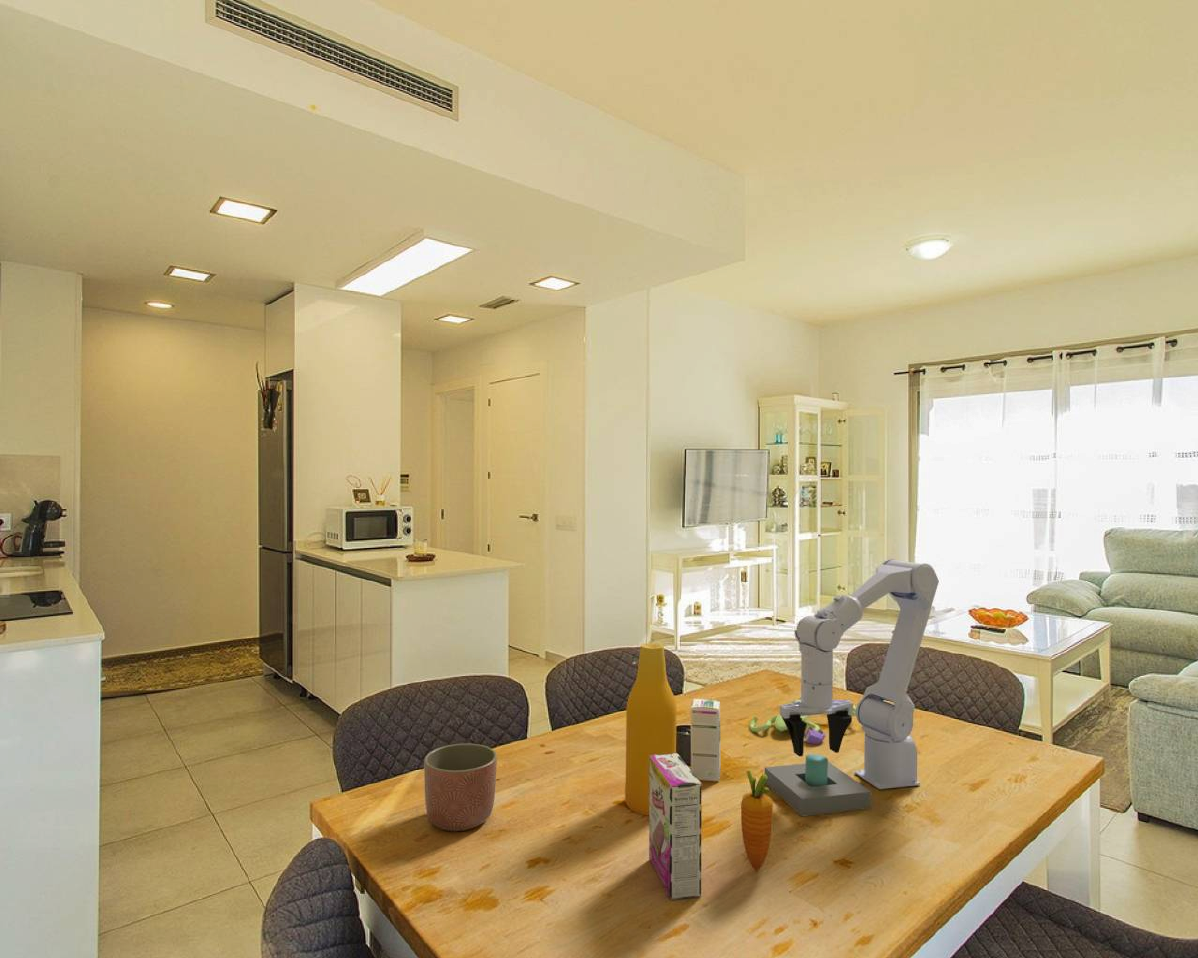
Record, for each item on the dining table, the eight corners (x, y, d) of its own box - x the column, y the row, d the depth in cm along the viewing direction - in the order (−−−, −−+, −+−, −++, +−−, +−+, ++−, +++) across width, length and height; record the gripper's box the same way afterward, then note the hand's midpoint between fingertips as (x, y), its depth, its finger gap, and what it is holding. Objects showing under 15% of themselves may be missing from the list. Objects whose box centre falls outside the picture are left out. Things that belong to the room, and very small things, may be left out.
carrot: (735, 862, 107) (736, 765, 107) (766, 861, 107) (767, 764, 107) (745, 880, 102) (746, 778, 102) (777, 879, 102) (778, 778, 102)
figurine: (869, 726, 169) (869, 704, 169) (809, 753, 152) (809, 728, 152) (803, 707, 183) (803, 686, 183) (741, 730, 166) (741, 706, 166)
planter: (433, 844, 111) (434, 776, 111) (415, 811, 122) (416, 750, 122) (506, 827, 117) (506, 763, 117) (483, 797, 128) (484, 738, 128)
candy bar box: (646, 859, 107) (647, 754, 107) (677, 856, 108) (678, 751, 108) (668, 902, 96) (670, 784, 96) (702, 898, 97) (703, 781, 98)
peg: (818, 789, 133) (819, 753, 133) (831, 798, 129) (832, 761, 129) (800, 791, 132) (801, 755, 132) (813, 801, 128) (813, 763, 128)
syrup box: (719, 782, 136) (720, 708, 136) (689, 779, 137) (690, 706, 137) (720, 770, 141) (721, 699, 141) (691, 767, 142) (692, 697, 142)
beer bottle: (618, 811, 123) (620, 648, 123) (633, 790, 132) (635, 638, 132) (668, 820, 120) (670, 653, 120) (680, 798, 128) (682, 642, 129)
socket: (827, 776, 139) (827, 761, 139) (871, 807, 125) (871, 791, 125) (764, 782, 136) (764, 767, 136) (802, 816, 122) (802, 799, 122)
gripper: (793, 689, 125) (792, 764, 125) (863, 684, 129) (862, 757, 128) (774, 678, 132) (773, 749, 132) (841, 674, 135) (840, 743, 135)
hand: (816, 752), depth 131 cm, fingers open, 7 cm apart
